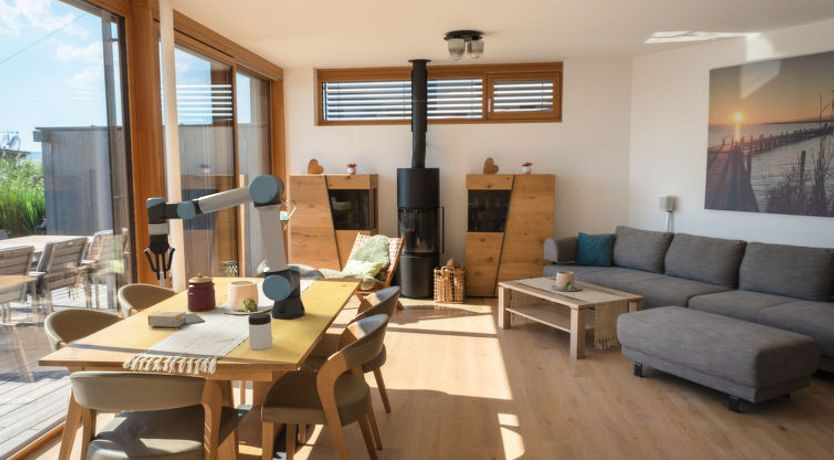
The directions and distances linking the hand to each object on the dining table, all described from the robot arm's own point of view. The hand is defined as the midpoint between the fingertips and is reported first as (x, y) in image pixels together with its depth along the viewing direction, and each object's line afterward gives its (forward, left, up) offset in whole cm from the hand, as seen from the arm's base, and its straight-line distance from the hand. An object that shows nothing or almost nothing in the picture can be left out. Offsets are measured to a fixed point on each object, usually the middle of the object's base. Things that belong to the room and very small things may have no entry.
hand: (162, 286), depth 256 cm
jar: (-60, -23, -17) cm, 66 cm away
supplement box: (0, +4, -13) cm, 14 cm away
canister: (+18, -21, -17) cm, 32 cm away
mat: (0, -7, -16) cm, 18 cm away
